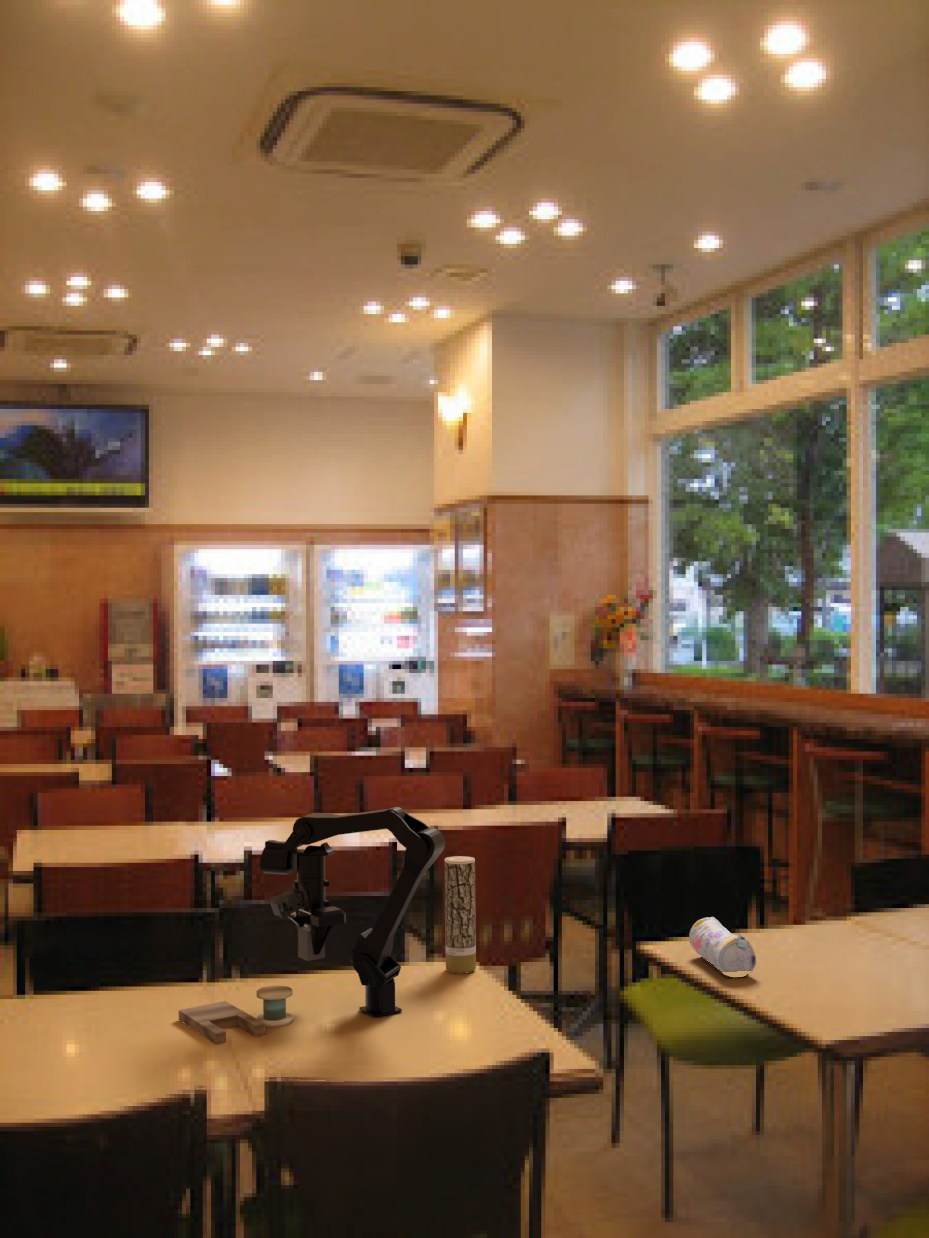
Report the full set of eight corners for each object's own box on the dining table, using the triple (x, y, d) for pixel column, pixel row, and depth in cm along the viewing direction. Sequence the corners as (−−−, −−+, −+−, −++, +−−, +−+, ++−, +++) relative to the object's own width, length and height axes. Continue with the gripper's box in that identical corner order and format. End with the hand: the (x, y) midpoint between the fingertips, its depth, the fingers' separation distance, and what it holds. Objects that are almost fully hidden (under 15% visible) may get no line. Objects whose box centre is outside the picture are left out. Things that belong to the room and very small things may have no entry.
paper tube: (472, 975, 282) (471, 862, 282) (442, 974, 283) (441, 861, 283) (478, 967, 289) (477, 856, 289) (449, 965, 290) (448, 855, 290)
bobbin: (298, 1022, 250) (298, 991, 250) (266, 1029, 246) (266, 998, 246) (282, 1013, 256) (282, 983, 256) (250, 1020, 252) (250, 989, 252)
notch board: (265, 1034, 243) (265, 1023, 243) (216, 1044, 237) (216, 1033, 237) (225, 1010, 258) (225, 1001, 258) (178, 1020, 252) (178, 1010, 252)
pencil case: (758, 979, 277) (757, 935, 277) (720, 981, 276) (719, 937, 276) (722, 954, 298) (722, 914, 298) (687, 956, 296) (686, 915, 296)
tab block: (324, 958, 261) (324, 927, 261) (307, 961, 258) (307, 929, 258) (315, 953, 264) (315, 923, 264) (298, 956, 262) (297, 926, 262)
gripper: (255, 873, 264) (255, 948, 264) (296, 888, 249) (297, 968, 249) (303, 867, 271) (303, 940, 271) (346, 881, 255) (347, 959, 255)
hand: (311, 952), depth 261 cm, fingers closed on tab block, 4 cm apart
